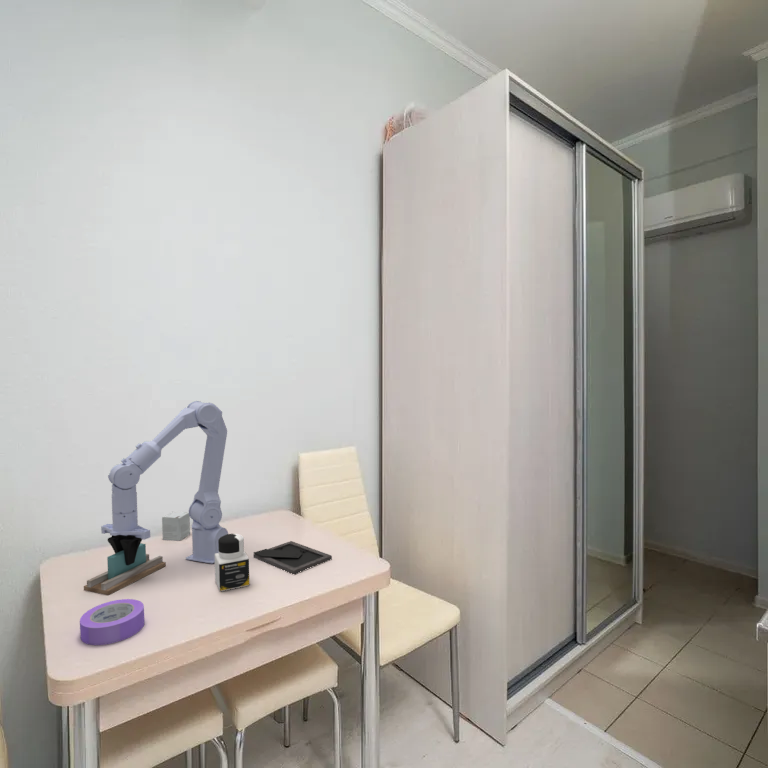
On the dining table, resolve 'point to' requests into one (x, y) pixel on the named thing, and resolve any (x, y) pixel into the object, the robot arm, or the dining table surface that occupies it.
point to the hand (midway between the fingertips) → (126, 563)
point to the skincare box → (176, 526)
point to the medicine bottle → (231, 563)
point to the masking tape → (112, 622)
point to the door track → (123, 577)
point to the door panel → (118, 562)
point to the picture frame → (292, 557)
